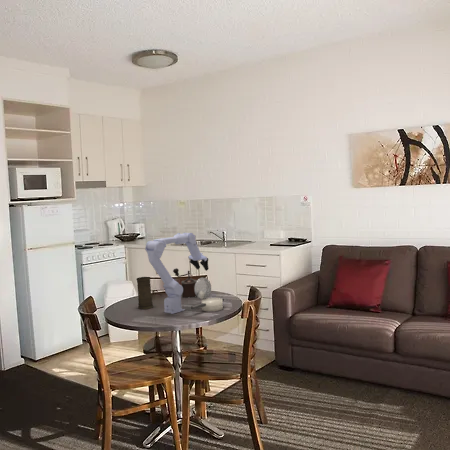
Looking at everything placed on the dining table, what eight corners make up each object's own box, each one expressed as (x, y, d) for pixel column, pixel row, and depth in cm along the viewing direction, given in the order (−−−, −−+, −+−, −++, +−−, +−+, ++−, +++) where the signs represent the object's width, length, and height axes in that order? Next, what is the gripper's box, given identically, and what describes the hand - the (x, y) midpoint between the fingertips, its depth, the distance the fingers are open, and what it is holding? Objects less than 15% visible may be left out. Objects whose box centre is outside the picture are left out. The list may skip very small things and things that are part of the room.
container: (150, 309, 289) (148, 279, 288) (135, 309, 291) (133, 279, 289) (155, 305, 298) (153, 276, 296) (141, 305, 300) (139, 276, 298)
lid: (196, 301, 280) (194, 301, 282) (212, 296, 289) (210, 296, 290) (194, 279, 280) (192, 279, 282) (209, 276, 289) (207, 276, 290)
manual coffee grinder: (198, 293, 326) (196, 266, 324) (198, 296, 315) (196, 269, 313) (174, 295, 325) (172, 268, 323) (174, 298, 314) (172, 270, 312)
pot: (200, 316, 266) (199, 307, 266) (185, 313, 275) (185, 304, 274) (230, 307, 282) (229, 298, 282) (215, 304, 291) (214, 296, 291)
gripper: (207, 247, 289) (215, 266, 294) (190, 246, 299) (199, 264, 304) (199, 254, 284) (208, 273, 290) (183, 252, 295) (191, 271, 300)
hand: (202, 269), depth 297 cm, fingers open, 7 cm apart
